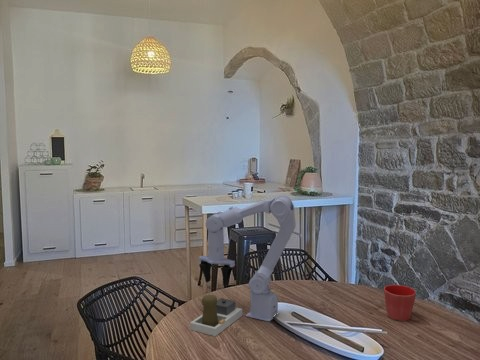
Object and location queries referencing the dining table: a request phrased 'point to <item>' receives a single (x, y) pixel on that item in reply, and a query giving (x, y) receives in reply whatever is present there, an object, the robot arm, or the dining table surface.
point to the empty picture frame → (225, 318)
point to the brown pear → (209, 310)
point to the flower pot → (399, 301)
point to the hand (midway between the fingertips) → (216, 283)
